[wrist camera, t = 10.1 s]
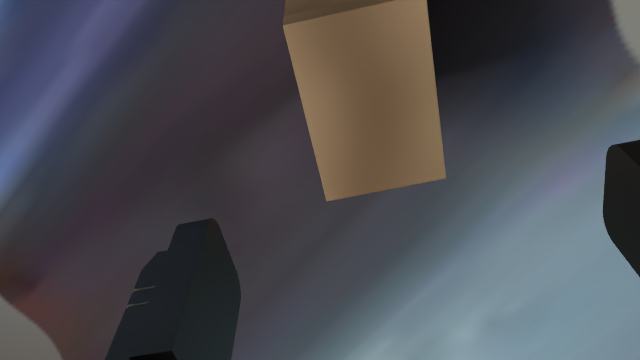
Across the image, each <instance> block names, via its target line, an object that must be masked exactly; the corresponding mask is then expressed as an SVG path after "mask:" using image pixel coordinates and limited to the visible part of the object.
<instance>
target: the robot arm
mask: <svg viewBox="0 0 640 360" xmlns="http://www.w3.org/2000/svg"><path fill="white" fill-rule="evenodd" d="M603 217H604V223H605V226H606V229H607V232H608V234H609V236H610V238H611V240H612V241H613V243H614V244H615V245H616V247H617V248H618V249H619V251H620V252H621V253H622V254H623V256H624V257H625V258H626V260H627V261H628V262H629V264H630V265H631V266H632V268H633V269H634V270H635V271H636V273H637V274H638V275H639V277H640V140H637V141H631V142H626V143H621V144H615V145H612V146H610V147H609V149H608V151H607V156H606V170H605V185H604V201H603ZM240 301H241V291H240V283H239V278H238V274H237V271H236V269H235V266H234V264H233V261H232V258H231V256H230V253H229V251H228V248H227V245H226V243H225V240H224V238H223V235H222V232H221V230H220V227H219V225H218V223H217V222H216V220H215V219H213V218H211V219H206V220H201V221H195V222H190V223H185V224H179V225H178V226H177V227H176V229H175V232H174V235H173V238H172V240H171V243H170V246H169V249H168V250H167V251H161V252H157V254H156V255H155V256H154V257H153V258H152V259H151V260H150V261H149V263H148V264H147V265H146V266H145V267H144V268H143V269H142V271H141V273H140V276H139V278H138V280H137V283H136V285H135V288H134V293H132V295H131V297H130V300H129V302H128V308H126V309H125V312H124V314H123V317H122V319H121V322H120V324H119V326H118V329H117V331H116V334H115V336H114V339H113V341H112V343H111V346H110V348H109V351H108V353H107V356H106V358H105V360H231V356H232V350H233V344H234V338H235V332H236V326H237V320H238V314H239V308H240Z"/></svg>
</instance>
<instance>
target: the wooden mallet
mask: <svg viewBox="0 0 640 360" xmlns="http://www.w3.org/2000/svg"><path fill="white" fill-rule="evenodd" d="M283 28H284V32H285V36H286V40H287V44H288V48H289V52H290V56H291V60H292V64H293V68H294V72H295V76H296V80H297V84H298V88H299V92H300V96H301V100H302V104H303V108H304V112H305V116H306V121H307V125H308V129H309V133H310V137H311V141H312V145H313V149H314V153H315V157H316V161H317V165H318V169H319V173H320V177H321V181H322V185H323V189H324V193H325V197H326V201H331V200H336V199H341V198H346V197H352V196H357V195H362V194H367V193H372V192H377V191H382V190H388V189H393V188H398V187H403V186H408V185H413V184H419V183H424V182H429V181H434V180H439V179H444V178H446V174H445V165H444V155H443V146H442V137H441V128H440V119H439V110H438V100H437V91H436V82H435V73H434V64H433V54H432V45H431V36H430V27H429V18H428V9H427V0H286V2H285V11H284V20H283Z"/></svg>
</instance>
